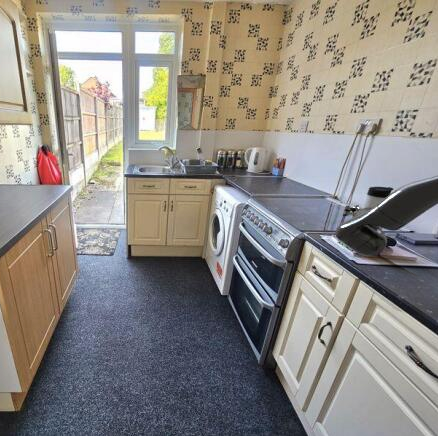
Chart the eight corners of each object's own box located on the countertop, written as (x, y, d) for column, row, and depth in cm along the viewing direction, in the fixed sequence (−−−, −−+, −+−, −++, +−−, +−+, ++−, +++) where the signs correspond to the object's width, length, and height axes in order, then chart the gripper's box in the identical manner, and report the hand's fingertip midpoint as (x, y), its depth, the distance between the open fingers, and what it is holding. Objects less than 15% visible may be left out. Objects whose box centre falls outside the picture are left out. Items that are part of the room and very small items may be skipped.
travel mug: (377, 241, 93) (397, 189, 85) (356, 238, 95) (374, 188, 87) (369, 234, 98) (388, 185, 91) (349, 232, 100) (366, 184, 93)
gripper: (403, 217, 70) (404, 205, 81) (342, 205, 80) (350, 196, 90) (393, 240, 73) (395, 226, 84) (335, 226, 82) (344, 215, 93)
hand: (372, 210), depth 87 cm, fingers open, 8 cm apart
